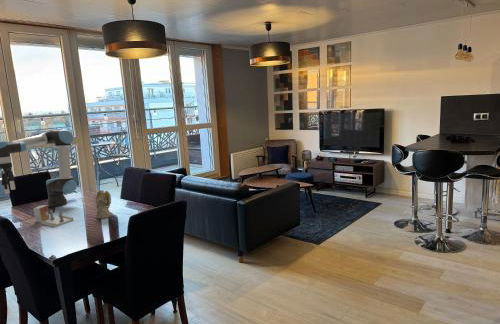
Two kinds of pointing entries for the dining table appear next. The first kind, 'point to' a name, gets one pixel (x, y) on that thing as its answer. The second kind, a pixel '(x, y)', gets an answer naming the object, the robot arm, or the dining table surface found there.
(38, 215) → the small box
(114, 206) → the dining table surface
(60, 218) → the pin tray
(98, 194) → the figurine
